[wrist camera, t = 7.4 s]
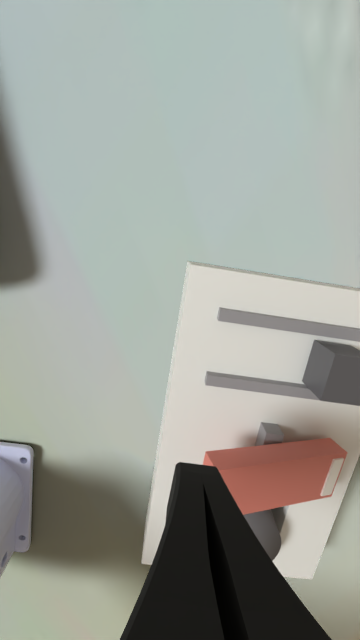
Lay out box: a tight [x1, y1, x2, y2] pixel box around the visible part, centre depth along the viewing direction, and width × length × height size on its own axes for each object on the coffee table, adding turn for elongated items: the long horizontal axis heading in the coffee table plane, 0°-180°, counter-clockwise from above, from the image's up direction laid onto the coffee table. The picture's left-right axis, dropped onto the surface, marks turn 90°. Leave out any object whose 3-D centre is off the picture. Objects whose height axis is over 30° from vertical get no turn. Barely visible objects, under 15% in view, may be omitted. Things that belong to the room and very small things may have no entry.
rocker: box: [203, 438, 348, 515], centre depth 15 cm, size 3×8×1 cm, turn 81°
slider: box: [302, 340, 360, 406], centre depth 14 cm, size 2×2×2 cm
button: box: [243, 509, 281, 561], centre depth 19 cm, size 4×4×3 cm
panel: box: [141, 261, 360, 579], centre depth 18 cm, size 20×12×4 cm, turn 171°
